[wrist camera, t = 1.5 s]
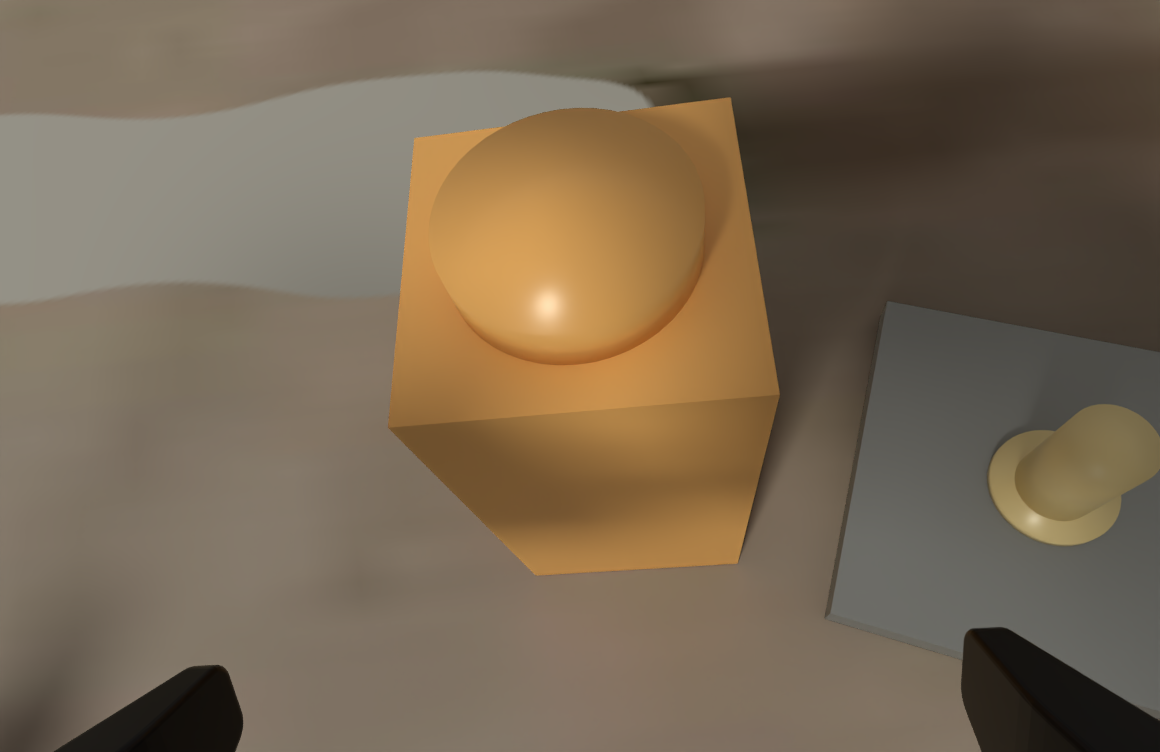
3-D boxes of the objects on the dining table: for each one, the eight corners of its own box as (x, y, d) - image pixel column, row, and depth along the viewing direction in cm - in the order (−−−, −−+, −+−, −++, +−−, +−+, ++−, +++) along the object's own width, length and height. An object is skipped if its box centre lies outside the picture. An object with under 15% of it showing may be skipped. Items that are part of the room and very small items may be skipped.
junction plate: (1244, 744, 18) (1402, 747, 14) (824, 618, 21) (855, 590, 17) (1233, 385, 22) (1355, 306, 18) (880, 316, 24) (917, 234, 20)
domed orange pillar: (737, 563, 21) (788, 364, 10) (535, 575, 22) (361, 402, 11) (714, 379, 24) (733, 51, 13) (534, 394, 25) (395, 98, 13)
